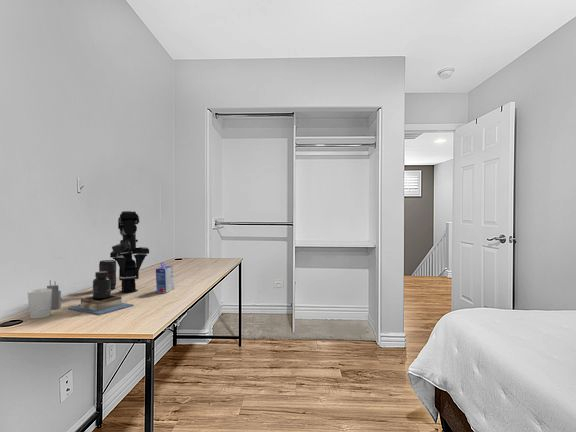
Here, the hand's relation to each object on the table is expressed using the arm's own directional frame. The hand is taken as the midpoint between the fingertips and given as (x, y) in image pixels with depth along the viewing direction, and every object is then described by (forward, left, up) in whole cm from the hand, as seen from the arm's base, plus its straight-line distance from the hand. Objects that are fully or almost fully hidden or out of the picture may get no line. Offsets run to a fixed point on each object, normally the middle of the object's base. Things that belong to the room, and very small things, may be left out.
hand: (130, 271), depth 172 cm
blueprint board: (+2, -16, -13) cm, 21 cm away
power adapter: (-15, -26, -13) cm, 33 cm away
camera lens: (-28, +10, -13) cm, 33 cm away
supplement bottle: (+2, -16, -10) cm, 19 cm away
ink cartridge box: (+2, +20, -13) cm, 24 cm away
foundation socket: (+2, -16, -13) cm, 21 cm away
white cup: (-8, -35, -13) cm, 38 cm away
